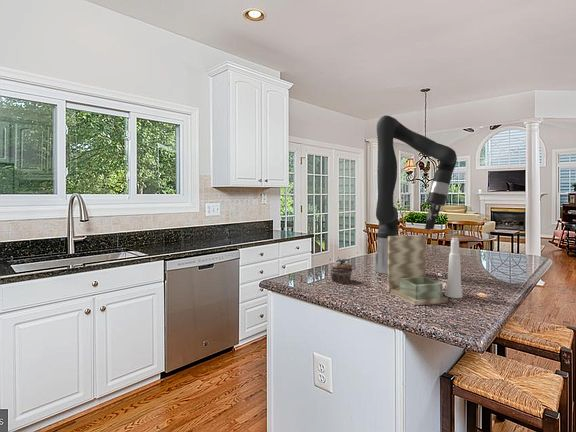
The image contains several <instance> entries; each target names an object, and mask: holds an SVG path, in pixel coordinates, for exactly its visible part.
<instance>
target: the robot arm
mask: <svg viewBox="0 0 576 432" xmlns="http://www.w3.org/2000/svg"><path fill="white" fill-rule="evenodd" d="M376 135H377V137H376V138H377V167H376V169H377V175H376V177H377V180H376V181H377V201H376V209H375V217H376V220H377V221H378V230H377V233H376V236H377V237H376V245H377V246H376V252H375V273H379V274H383V275H384V274H385V275H388V236H398V230H399V212H398V209H397V207H396V206H394V193H395V192H394V191H395V188H396V184H397V179H398V161H397V157H396V152H395V148H394V139H395V140H398V141H401V142H403V143H404V144H406V145H408V146H409V147H411V148H412V149H414V150H415V151H417V152H419V153H420V154H422V155H425V156H427V157H429V158H434V159H435V160H437V161H438V167H437V169H436V171H435V173H434V176H433V179H432V182H431V185H430V189H429V192H428V196H427V200H426V202H427V203H428V204H431V206H429V208H428V212H427V216H426V224H425V226H424V229H425V230H427V231H431V230H434V228H435V224H436V222H437V220H438V218H439V214H440V210H441V207H444V206H445V205H446V202H447V199H448V194H449V190H450V184H451V181H452V175H453V173H454V171H455V168H456V164H457V162H458V161H457V160H458V157H457V153H456V150H454V149H453V148H451V147H450V146H448V145H445V144H442V143H438V142H437V141H435V140H432V139H431V138H429V137H427V136H425V135H422V134H420V133H418V132H415V131H413V130H411V129H409V128H408V127H406V126H405V125H403V123H401V122H400V121H398V119H397V118H395V117H392V116H391V115H383V116H381V117H380V118H379V119H378V120H377V123H376Z"/></svg>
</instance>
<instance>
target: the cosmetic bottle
mask: <svg viewBox="0 0 576 432" xmlns="http://www.w3.org/2000/svg"><path fill="white" fill-rule="evenodd" d="M448 255H449V256H448V268H447V280H446V281H447V282H446V288H445V294H444V297H445V296H446V298H450V299H462V298H463V290H462V273H461V270H462V269H461V253H460V241H459V237H451V240H450V253H449V254H448Z"/></svg>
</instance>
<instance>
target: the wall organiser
mask: <svg viewBox="0 0 576 432" xmlns="http://www.w3.org/2000/svg"><path fill="white" fill-rule="evenodd" d="M426 257H427V235H426V234H417V235H416V234H414V235H409V234H408V235H397V236H388V274H386V275H387V278H386V279H387V280H386V281H387V283H386V284H387V288H386V290H387V291H386V292H387V293H391V294H392V295H394V296H396V297H398V298H399V299H402V300H403V301H405V302H407V303H410V304H412V305H413V306H420V305H433V304H443V303H444V304H447V303H448V297H445V296H443V283H442V282H439V281H436V280H433V279H430V278H428V277H426V272H427V271H426V269H427V267H426V266H427V265H426V264H427V263H426V262H427V261H426V259H427V258H426Z"/></svg>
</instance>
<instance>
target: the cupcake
mask: <svg viewBox="0 0 576 432" xmlns="http://www.w3.org/2000/svg"><path fill="white" fill-rule="evenodd" d="M329 272H330V279H331V282H332V281H333V283H335V282H336V284H347V282H348V283H350V282H349V281H351V277H352V274H353V273H352V272H353V269H352V264H350V262H349V260H348V259H347V258H342V259H341V258H338V259H337V260H336V261H335V262H334V263H333V264H331V268H330V270H329Z"/></svg>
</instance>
